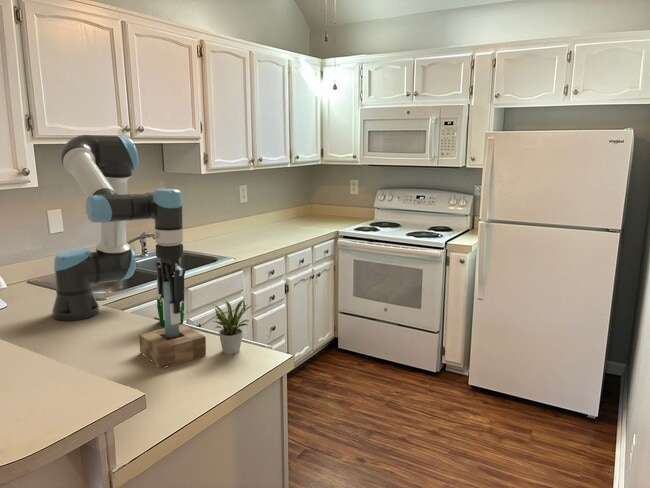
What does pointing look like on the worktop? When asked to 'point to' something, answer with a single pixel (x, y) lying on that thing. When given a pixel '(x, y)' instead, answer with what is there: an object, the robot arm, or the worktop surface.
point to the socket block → (172, 346)
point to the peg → (169, 329)
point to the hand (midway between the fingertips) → (171, 321)
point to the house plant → (231, 328)
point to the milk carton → (160, 308)
